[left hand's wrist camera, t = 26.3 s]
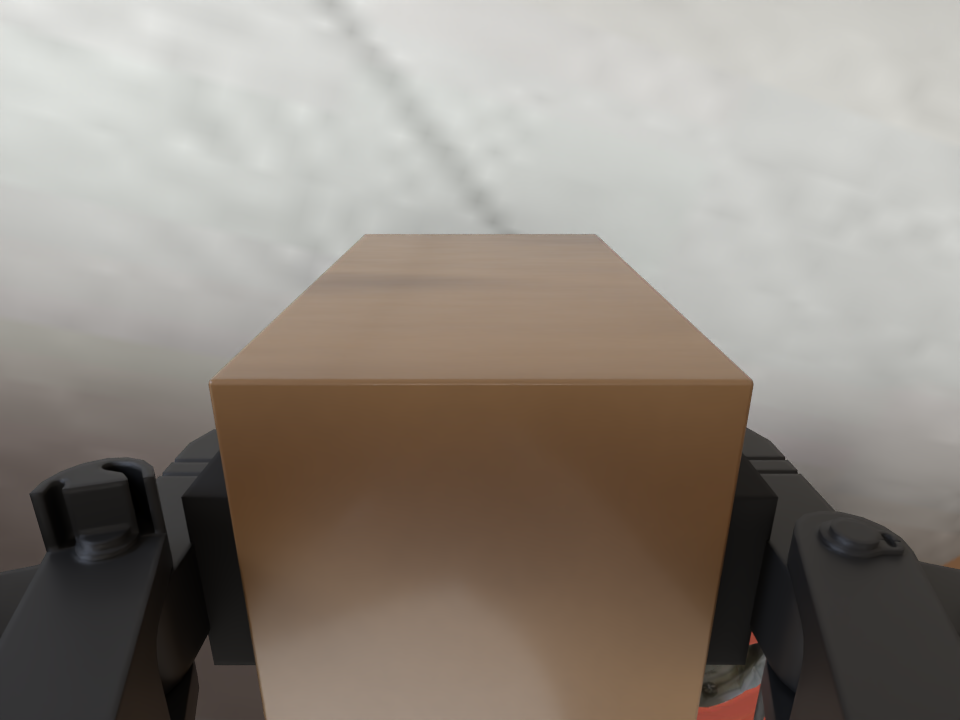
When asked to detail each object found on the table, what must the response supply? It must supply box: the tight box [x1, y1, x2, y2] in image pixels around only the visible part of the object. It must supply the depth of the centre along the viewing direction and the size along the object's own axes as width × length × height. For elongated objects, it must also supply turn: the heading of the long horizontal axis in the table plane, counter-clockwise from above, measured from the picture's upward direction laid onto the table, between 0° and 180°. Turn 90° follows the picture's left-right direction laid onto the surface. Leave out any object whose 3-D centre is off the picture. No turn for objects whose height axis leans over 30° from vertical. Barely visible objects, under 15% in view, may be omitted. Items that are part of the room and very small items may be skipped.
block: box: [209, 234, 753, 720], centre depth 12 cm, size 6×6×10 cm
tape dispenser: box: [697, 633, 766, 720], centre depth 32 cm, size 18×5×20 cm
